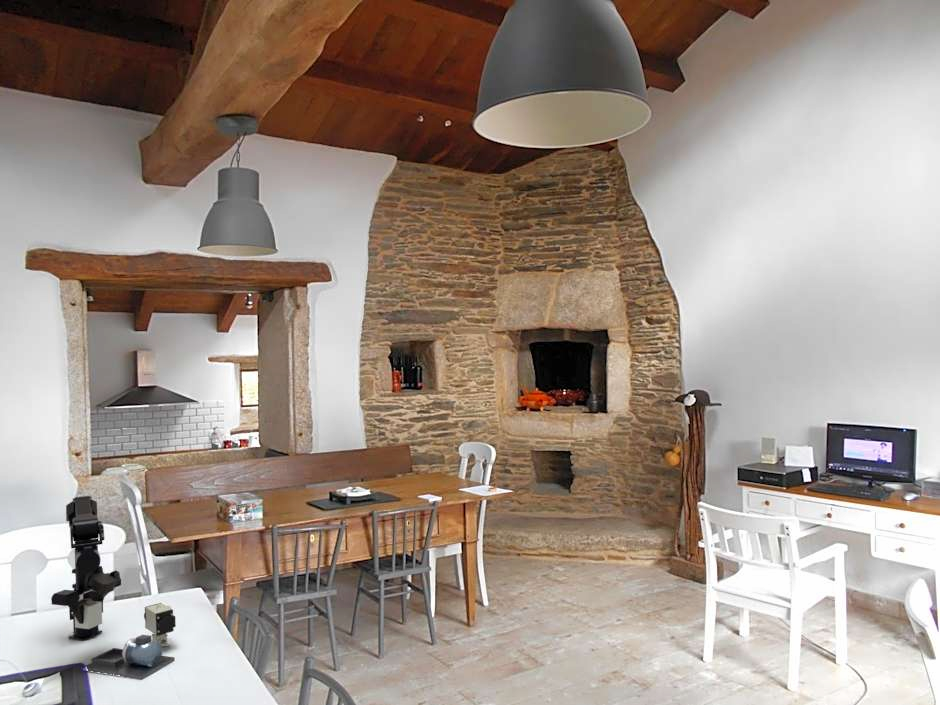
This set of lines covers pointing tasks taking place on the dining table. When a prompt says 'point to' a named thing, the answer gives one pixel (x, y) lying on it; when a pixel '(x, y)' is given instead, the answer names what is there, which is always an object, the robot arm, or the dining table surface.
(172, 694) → the dining table surface
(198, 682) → the dining table surface
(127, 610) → the dining table surface
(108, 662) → the motor mount
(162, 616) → the pneumatic valve
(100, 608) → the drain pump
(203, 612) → the dining table surface
